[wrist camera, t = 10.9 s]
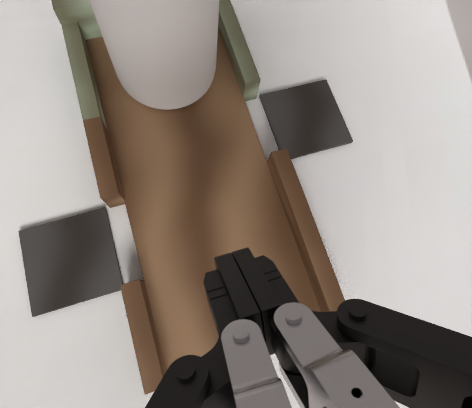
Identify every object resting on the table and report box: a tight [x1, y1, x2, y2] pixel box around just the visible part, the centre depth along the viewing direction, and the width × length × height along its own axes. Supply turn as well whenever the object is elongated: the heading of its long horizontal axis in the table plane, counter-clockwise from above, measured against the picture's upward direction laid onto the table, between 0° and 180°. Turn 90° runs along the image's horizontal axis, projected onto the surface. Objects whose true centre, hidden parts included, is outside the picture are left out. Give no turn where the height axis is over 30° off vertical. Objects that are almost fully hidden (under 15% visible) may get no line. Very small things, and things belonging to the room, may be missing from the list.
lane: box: [19, 0, 353, 394], centre depth 26 cm, size 26×28×4 cm
